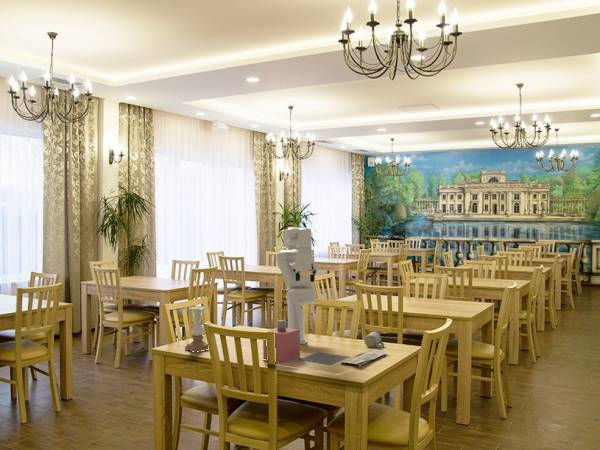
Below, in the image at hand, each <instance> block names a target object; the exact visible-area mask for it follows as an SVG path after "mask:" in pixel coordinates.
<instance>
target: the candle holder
mask: <svg viewBox="0 0 600 450" xmlns="http://www.w3.org/2000/svg"><path fill="white" fill-rule="evenodd" d="M207 309H208V307H207V306H205V305H204V306H203V305H202V306H201V305H199V306H197V305H196V306H189V307H188V311H192V313H193V314H194V317H193V318H192V320H193V322H194V325H193V327H192V328H191V330H190V331H191V332H190V333H191V334H192V341H191V342H190V343H186V345H185V347H184V350H185V349H187V350H190V351H194V352H197V351H201V350H206V349H208V344H209V343H208V342H205V341H204V336H203V335H204V334H205V328H204V326H203V325H202V320H203V318H202V317H203V316H202V313H203V311H205V310H207ZM203 328H204V329H203ZM207 343H208V344H207ZM190 351H189V352H190Z"/></svg>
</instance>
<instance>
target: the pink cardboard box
mask: <svg viewBox="0 0 600 450" xmlns="http://www.w3.org/2000/svg"><path fill="white" fill-rule="evenodd" d="M276 321H277V322H276V325H277V327H275V328H270V329H269V330H271V331H274V332H275V348H276V361H275V362H278V363H284V364H285V363H287V362H290V361H292V360H296V359H298V358H299V359H300V357H301V344H300V329H291V328H288V327H287V326H286V325H287V323H286V320H285V319H280V320H276ZM262 342H263V345H262V347H263V348H262V349H263V353H262V355H263V357H262V359H266V360H267V346H266V340H263V339H262Z"/></svg>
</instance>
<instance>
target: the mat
mask: <svg viewBox="0 0 600 450" xmlns="http://www.w3.org/2000/svg"><path fill="white" fill-rule="evenodd" d="M348 359H350V356H346V355H340V354H332V353H326V352H325V353H324V352H315V353H313V354H310V355H307V356H305V357H304V356H303V357H301V358H299V359H298V358H297V361H300V362H301V361H302V362H308V363H314V364H315V363H316V364H321V365H328V366H331V365H334V364H336V363H339V362H343V361H345V360H348Z"/></svg>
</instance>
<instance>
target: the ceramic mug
mask: <svg viewBox="0 0 600 450" xmlns="http://www.w3.org/2000/svg"><path fill="white" fill-rule="evenodd" d="M364 344H365V346H366V347H368V348H374V347H377V348H382V349H383V348H384V347H385V343H384V342H383V341H382V337H381V335H380V334H379V333H378V332H376V331H372V332H369V334H367V335H366V336H365V338H364Z"/></svg>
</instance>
